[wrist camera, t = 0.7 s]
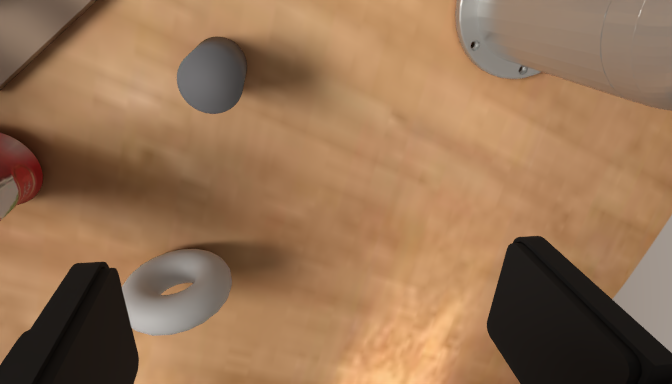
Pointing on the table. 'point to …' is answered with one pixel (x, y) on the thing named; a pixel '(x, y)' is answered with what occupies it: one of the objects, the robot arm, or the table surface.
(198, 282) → the donut
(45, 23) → the socket board
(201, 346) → the table surface
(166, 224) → the table surface
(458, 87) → the table surface
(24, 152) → the liquor
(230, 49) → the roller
